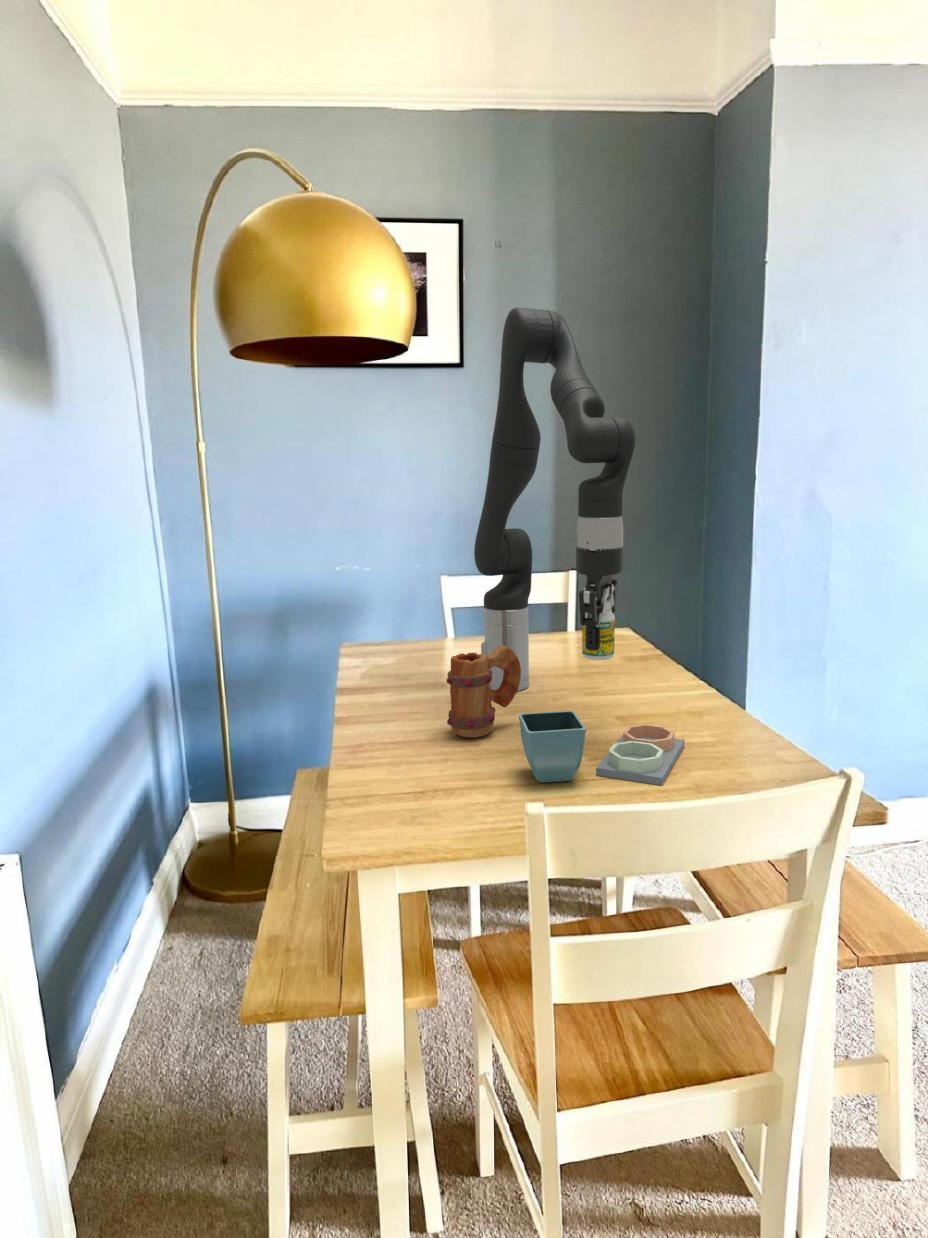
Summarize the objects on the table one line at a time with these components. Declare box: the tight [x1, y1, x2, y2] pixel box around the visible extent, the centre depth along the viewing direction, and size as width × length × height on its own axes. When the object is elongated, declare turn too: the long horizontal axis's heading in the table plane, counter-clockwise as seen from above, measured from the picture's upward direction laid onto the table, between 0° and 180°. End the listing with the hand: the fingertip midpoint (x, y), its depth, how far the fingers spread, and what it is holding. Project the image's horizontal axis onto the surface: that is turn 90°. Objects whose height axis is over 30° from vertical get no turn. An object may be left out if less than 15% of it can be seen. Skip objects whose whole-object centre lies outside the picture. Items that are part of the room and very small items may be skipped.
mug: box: [446, 645, 521, 739], centre depth 140 cm, size 15×8×15 cm, turn 118°
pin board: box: [595, 723, 686, 786], centre depth 126 cm, size 10×17×3 cm, turn 154°
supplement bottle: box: [581, 599, 616, 661], centre depth 131 cm, size 5×5×10 cm
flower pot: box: [518, 710, 587, 784], centre depth 120 cm, size 9×9×9 cm
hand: (598, 644), depth 132 cm, fingers closed on supplement bottle, 5 cm apart
